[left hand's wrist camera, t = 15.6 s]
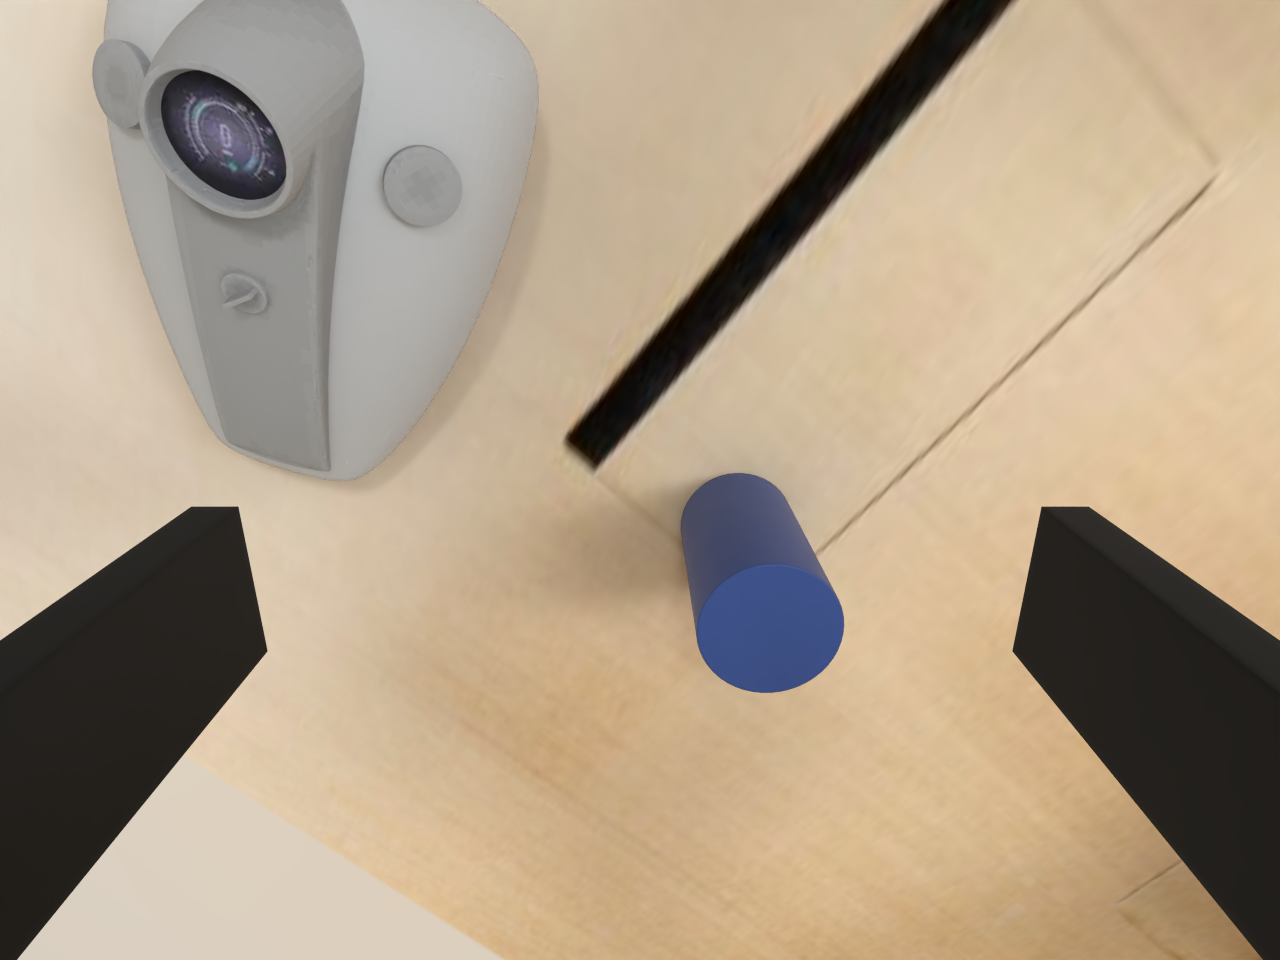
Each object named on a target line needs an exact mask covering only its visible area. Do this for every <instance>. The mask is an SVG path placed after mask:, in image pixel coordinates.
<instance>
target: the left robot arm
mask: <svg viewBox="0 0 1280 960" xmlns="http://www.w3.org/2000/svg"><path fill="white" fill-rule="evenodd" d="M266 652H267V646H266V641H265V636H264V631H263V626H262V622H261V617H260V612H259V607H258V602H257V597H256V592H255V587H254V582H253V577H252V572H251V567H250V562H249V557H248V552H247V547H246V542H245V538H244V533H243V528H242V523H241V518H240V513H239V508H238V507H190V508H189V509H187V510H186V511H185V512H183V513H182V514H180V515H179V516H177V517H176V518H175V519H173V520H172V521H170V522H169V523H167V524H166V525H165V526H163V527H162V528H160V529H159V530H157V531H156V532H155V533H153V534H152V535H150V536H149V537H147V538H146V539H145V540H143V541H142V542H140V543H139V544H137V545H136V546H135V547H133V548H132V549H130V550H129V551H127V552H126V553H125V554H123V555H122V556H120V557H119V558H117V559H116V560H115V561H113V562H112V563H110V564H109V565H107V566H106V567H105V568H103V569H102V570H100V571H99V572H97V573H96V574H95V575H93V576H92V577H90V578H89V579H87V580H86V581H85V582H83V583H82V584H80V585H79V586H77V587H76V588H75V589H73V590H72V591H70V592H69V593H68V594H66V595H65V596H63V597H62V598H60V599H59V600H58V601H56V602H55V603H53V604H52V605H50V606H49V607H48V608H46V609H45V610H43V611H42V612H40V613H39V614H38V615H36V616H35V617H33V618H32V619H30V620H29V621H28V622H26V623H25V624H23V625H22V626H20V627H19V628H18V629H16V630H15V631H13V632H12V633H10V634H9V635H8V636H6V637H5V638H3V639H2V640H0V960H17V959H18V958H19V956H20V955H21V954H22V953H23V952H24V950H25V949H26V948H27V947H28V945H29V944H30V943H31V942H32V940H33V939H34V938H35V937H36V935H37V934H38V933H39V932H40V931H41V929H42V928H43V927H44V926H45V924H46V923H47V922H48V921H49V920H50V918H51V917H52V916H53V915H54V913H55V912H56V911H57V910H58V908H59V907H60V906H61V905H62V904H63V902H64V901H65V900H66V899H67V897H68V896H69V895H70V894H71V892H72V891H73V890H74V889H75V888H76V886H77V885H78V884H79V883H80V881H81V880H82V879H83V878H84V876H85V875H86V874H87V873H88V872H89V870H90V869H91V868H92V867H93V865H94V864H95V863H96V862H97V860H98V859H99V858H100V857H101V856H102V854H103V853H104V852H105V851H106V849H107V848H108V847H109V846H110V844H111V843H112V842H113V841H114V840H115V838H116V837H117V836H118V835H119V833H120V832H121V831H122V830H123V828H124V827H125V826H126V825H127V824H128V822H129V821H130V820H131V819H132V817H133V816H134V815H135V814H136V812H137V811H138V810H139V809H140V807H141V806H142V805H143V804H144V803H145V801H146V800H147V799H148V798H149V796H150V795H151V794H152V793H153V792H154V790H155V789H156V788H157V787H158V785H159V784H160V783H161V782H162V780H163V779H164V778H165V777H166V775H167V774H168V773H169V772H170V771H171V769H172V768H173V767H174V766H175V764H176V763H177V762H178V761H179V760H180V758H181V757H182V756H183V755H184V753H185V752H186V751H187V750H188V748H189V747H190V746H191V745H192V744H193V742H194V741H195V740H196V739H197V737H198V736H199V735H200V734H201V732H202V731H203V730H204V729H205V728H206V726H207V725H208V724H209V723H210V721H211V720H212V719H213V718H214V716H215V715H216V714H217V713H218V712H219V710H220V709H221V708H222V707H223V705H224V704H225V703H226V702H227V700H228V699H229V698H230V697H231V696H232V694H233V693H234V692H235V691H236V689H237V688H238V687H239V686H240V684H241V683H242V682H243V681H244V680H245V678H246V677H247V676H248V675H249V673H250V672H251V671H252V670H253V668H254V667H255V666H256V665H257V664H258V662H259V661H260V660H261V659H262V657H263V656H264V655H265V654H266ZM1013 652H1014V654H1015V655H1016V656H1017V657H1018V659H1019V660H1020V661H1021V662H1022V664H1023V665H1024V666H1025V667H1026V668H1027V670H1028V671H1029V672H1030V673H1031V675H1032V676H1033V677H1034V678H1035V680H1036V681H1037V682H1038V683H1039V684H1040V686H1041V687H1042V688H1043V689H1044V691H1045V692H1046V693H1047V694H1048V696H1049V697H1050V698H1051V699H1052V700H1053V702H1054V703H1055V704H1056V705H1057V707H1058V708H1059V709H1060V710H1061V712H1062V713H1063V714H1064V715H1065V716H1066V718H1067V719H1068V720H1069V721H1070V723H1071V724H1072V725H1073V726H1074V728H1075V729H1076V730H1077V731H1078V732H1079V734H1080V735H1081V736H1082V737H1083V739H1084V740H1085V741H1086V742H1087V744H1088V745H1089V746H1090V747H1091V748H1092V750H1093V751H1094V752H1095V753H1096V755H1097V756H1098V757H1099V758H1100V760H1101V761H1102V762H1103V763H1104V764H1105V766H1106V767H1107V768H1108V769H1109V771H1110V772H1111V773H1112V774H1113V776H1114V777H1115V778H1116V779H1117V780H1118V782H1119V783H1120V784H1121V785H1122V787H1123V788H1124V789H1125V790H1126V792H1127V793H1128V794H1129V795H1130V796H1131V798H1132V799H1133V800H1134V801H1135V803H1136V804H1137V805H1138V806H1139V808H1140V809H1141V810H1142V811H1143V812H1144V814H1145V815H1146V816H1147V817H1148V819H1149V820H1150V821H1151V822H1152V824H1153V825H1154V826H1155V827H1156V828H1157V830H1158V831H1159V832H1160V833H1161V835H1162V836H1163V837H1164V838H1165V840H1166V841H1167V842H1168V843H1169V844H1170V846H1171V847H1172V848H1173V849H1174V851H1175V852H1176V853H1177V854H1178V856H1179V857H1180V858H1181V859H1182V860H1183V862H1184V863H1185V864H1186V865H1187V867H1188V868H1189V869H1190V870H1191V872H1192V873H1193V874H1194V875H1195V876H1196V878H1197V879H1198V880H1199V881H1200V883H1201V884H1202V885H1203V886H1204V888H1205V889H1206V890H1207V891H1208V892H1209V894H1210V895H1211V896H1212V897H1213V899H1214V900H1215V901H1216V902H1217V904H1218V905H1219V906H1220V907H1221V908H1222V910H1223V911H1224V912H1225V913H1226V915H1227V916H1228V917H1229V918H1230V920H1231V921H1232V922H1233V923H1234V924H1235V926H1236V927H1237V928H1238V929H1239V931H1240V932H1241V933H1242V934H1243V936H1244V937H1245V938H1246V939H1247V940H1248V942H1249V943H1250V944H1251V945H1252V947H1253V948H1254V949H1255V950H1256V952H1257V953H1258V954H1259V955H1260V956H1261V958H1262V959H1263V960H1280V640H1278V639H1277V638H1275V637H1274V636H1272V635H1271V634H1270V633H1268V632H1267V631H1265V630H1264V629H1262V628H1261V627H1260V626H1258V625H1257V624H1255V623H1254V622H1252V621H1251V620H1250V619H1248V618H1247V617H1245V616H1244V615H1242V614H1241V613H1240V612H1238V611H1237V610H1235V609H1234V608H1232V607H1231V606H1230V605H1228V604H1227V603H1225V602H1224V601H1222V600H1221V599H1220V598H1218V597H1217V596H1215V595H1214V594H1212V593H1211V592H1210V591H1208V590H1207V589H1205V588H1204V587H1202V586H1201V585H1200V584H1198V583H1197V582H1195V581H1194V580H1192V579H1191V578H1190V577H1188V576H1187V575H1185V574H1184V573H1183V572H1181V571H1180V570H1178V569H1177V568H1175V567H1174V566H1173V565H1171V564H1170V563H1168V562H1167V561H1165V560H1164V559H1163V558H1161V557H1160V556H1158V555H1157V554H1155V553H1154V552H1153V551H1151V550H1150V549H1148V548H1147V547H1145V546H1144V545H1143V544H1141V543H1140V542H1138V541H1137V540H1135V539H1134V538H1133V537H1131V536H1130V535H1128V534H1127V533H1125V532H1124V531H1123V530H1121V529H1120V528H1118V527H1117V526H1115V525H1114V524H1113V523H1111V522H1110V521H1108V520H1107V519H1105V518H1104V517H1103V516H1101V515H1100V514H1098V513H1097V512H1095V511H1094V510H1093V509H1091V508H1090V507H1042V508H1041V513H1040V518H1039V523H1038V528H1037V533H1036V538H1035V542H1034V547H1033V552H1032V557H1031V562H1030V567H1029V572H1028V577H1027V582H1026V587H1025V592H1024V597H1023V602H1022V607H1021V612H1020V617H1019V622H1018V626H1017V631H1016V636H1015V641H1014V646H1013Z"/></svg>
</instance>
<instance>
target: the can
mask: <svg viewBox="0 0 1280 960" xmlns="http://www.w3.org/2000/svg"><path fill="white" fill-rule="evenodd" d="M681 534H682V541H683V548H684V555H685V561H686V568H687V575H688V582H689V589H690V595H691V602H692V609H693V616H694V623H695V629H696V636H697V643H698V647H699V650H700V653H701V655H702V657H703V659H704V661H705V662H706V664H707V665H708V667H709V668H710V669H711V670H712V671H713V672H714V673H715V674H716V675H717V676H718V677H720V678H721V679H722V680H724V681H725V682H727V683H729V684H731V685H733V686H735V687H737V688H740V689H743V690H747V691H752V692H760V693H773V692H781V691H785V690H789V689H792V688H795V687H798V686H800V685H802V684H804V683H806V682H808V681H810V680H811V679H813V678H814V677H816V676H817V675H818V674H819V673H821V672H822V671H823V670H824V669H825V668H826V667H827V666H828V665H829V663H830V662H831V661H832V659H833V658H834V656H835V655H836V653H837V651H838V649H839V646H840V644H841V641H842V637H843V631H844V616H843V611H842V607H841V604H840V602H839V599H838V598H837V596H836V594H835V592H834V590H833V588H832V586H831V584H830V582H829V580H828V578H827V577H826V575H825V573H824V571H823V569H822V567H821V565H820V563H819V561H818V559H817V557H816V556H815V554H814V552H813V550H812V548H811V546H810V544H809V542H808V540H807V538H806V536H805V534H804V533H803V531H802V529H801V527H800V525H799V523H798V521H797V519H796V517H795V515H794V513H793V512H792V510H791V508H790V506H789V504H788V502H787V500H786V498H785V497H784V495H783V494H782V493H781V491H780V490H779V489H778V488H777V487H776V486H774V485H773V484H772V483H770V482H769V481H767V480H765V479H763V478H760V477H758V476H754V475H750V474H743V473H736V474H727V475H724V476H720V477H717V478H715V479H713V480H711V481H709V482H707V483H706V484H704V485H703V486H701V487H700V488H699V489H698V490H697V491H696V492H695V493H694V494H693V495H692V497H691V498H690V499H689V501H688V503H687V505H686V507H685V509H684V512H683V515H682V520H681Z"/></svg>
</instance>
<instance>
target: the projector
mask: <svg viewBox="0 0 1280 960" xmlns="http://www.w3.org/2000/svg"><path fill="white" fill-rule="evenodd" d="M93 83H94V88H95V93H96V96H97V99H98V101H99V104H100V106H101V108H102V110H103V111H104V113H105V114H106V116H107V120H108V128H109V135H110V141H111V147H112V153H113V159H114V164H115V169H116V174H117V179H118V183H119V187H120V192H121V196H122V200H123V204H124V208H125V212H126V216H127V220H128V224H129V227H130V231H131V234H132V237H133V241H134V244H135V247H136V251H137V254H138V257H139V260H140V263H141V267H142V270H143V273H144V276H145V278H146V281H147V284H148V287H149V290H150V293H151V295H152V298H153V301H154V304H155V306H156V309H157V312H158V314H159V317H160V319H161V322H162V325H163V327H164V330H165V332H166V335H167V337H168V340H169V342H170V344H171V347H172V349H173V351H174V354H175V356H176V358H177V361H178V363H179V366H180V368H181V370H182V373H183V375H184V377H185V379H186V381H187V383H188V385H189V388H190V390H191V392H192V394H193V396H194V398H195V400H196V402H197V405H198V406H199V408H200V410H201V412H202V414H203V416H204V418H205V420H206V421H207V423H208V425H209V427H210V428H211V429H212V431H213V432H214V434H215V435H216V436H217V437H218V438H219V440H220V441H221V442H222V443H224V444H225V445H227V446H228V447H229V448H231V449H233V450H235V451H237V452H239V453H241V454H243V455H245V456H247V457H250V458H253V459H255V460H258V461H261V462H264V463H267V464H270V465H273V466H276V467H279V468H282V469H286V470H290V471H293V472H297V473H300V474H304V475H308V476H312V477H316V478H321V479H327V480H334V481H350V480H354V479H357V478H359V477H361V476H363V475H365V474H366V473H368V472H370V471H371V470H372V469H374V468H375V467H376V466H378V465H379V464H380V463H381V462H382V461H383V460H385V459H386V458H387V457H388V456H389V455H390V453H391V452H392V451H393V450H394V449H395V448H396V447H397V446H398V445H399V444H400V442H401V441H402V440H403V439H404V438H405V437H406V435H407V434H408V433H409V431H410V430H411V429H412V428H413V426H414V425H415V424H416V422H417V421H418V420H419V418H420V417H421V415H422V414H423V413H424V411H425V410H426V408H427V407H428V406H429V404H430V403H431V401H432V400H433V398H434V397H435V395H436V394H437V392H438V390H439V389H440V387H441V386H442V384H443V382H444V381H445V379H446V378H447V376H448V374H449V373H450V371H451V369H452V367H453V365H454V364H455V362H456V360H457V358H458V356H459V355H460V353H461V351H462V349H463V347H464V345H465V344H466V342H467V339H468V337H469V335H470V333H471V331H472V329H473V326H474V324H475V322H476V320H477V318H478V316H479V314H480V311H481V309H482V307H483V304H484V302H485V299H486V297H487V294H488V292H489V289H490V287H491V284H492V282H493V279H494V277H495V274H496V271H497V268H498V265H499V262H500V260H501V257H502V254H503V251H504V248H505V245H506V242H507V239H508V236H509V233H510V230H511V226H512V223H513V220H514V217H515V213H516V210H517V207H518V203H519V199H520V196H521V192H522V188H523V184H524V181H525V177H526V173H527V168H528V164H529V160H530V155H531V151H532V145H533V140H534V134H535V128H536V121H537V112H538V103H539V84H538V77H537V72H536V68H535V64H534V62H533V59H532V57H531V55H530V53H529V51H528V50H527V48H526V47H525V45H524V44H523V42H522V41H521V40H520V38H519V37H518V36H517V35H516V34H515V32H514V31H513V30H512V29H511V28H510V27H509V26H508V25H507V24H506V23H504V22H503V21H502V20H501V19H500V18H499V17H498V16H497V15H495V14H494V13H493V12H492V11H490V10H489V9H488V8H486V7H485V6H483V5H482V4H481V3H479V2H478V1H476V0H108V6H107V13H106V20H105V27H104V42H103V43H102V44H101V45H100V47H99V48H98V50H97V52H96V55H95V57H94V63H93Z"/></svg>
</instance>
